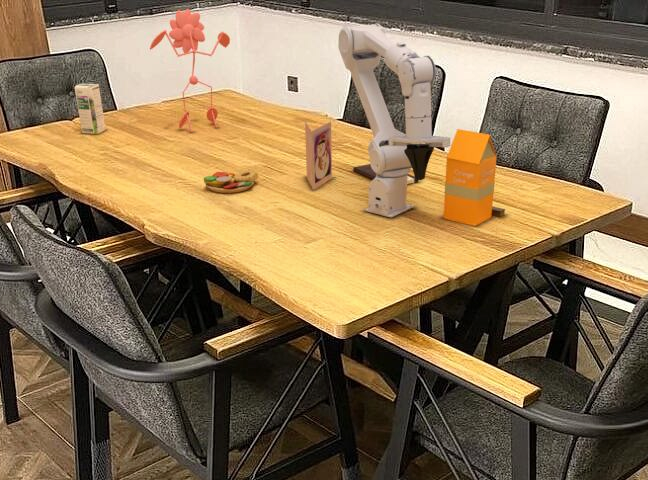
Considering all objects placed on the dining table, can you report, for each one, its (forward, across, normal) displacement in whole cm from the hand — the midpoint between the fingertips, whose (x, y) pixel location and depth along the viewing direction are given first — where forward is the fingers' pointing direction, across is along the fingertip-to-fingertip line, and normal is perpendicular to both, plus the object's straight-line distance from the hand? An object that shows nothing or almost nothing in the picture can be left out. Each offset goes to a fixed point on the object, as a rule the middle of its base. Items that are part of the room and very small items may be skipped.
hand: (420, 179), depth 189 cm
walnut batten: (+10, -7, -17) cm, 21 cm away
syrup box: (-6, +131, -22) cm, 133 cm away
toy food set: (+4, +57, 0) cm, 57 cm away
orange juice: (+11, -6, -11) cm, 17 cm away
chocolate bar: (+6, +26, -29) cm, 39 cm away
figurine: (-5, +107, -44) cm, 116 cm away
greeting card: (+5, +40, -14) cm, 43 cm away
